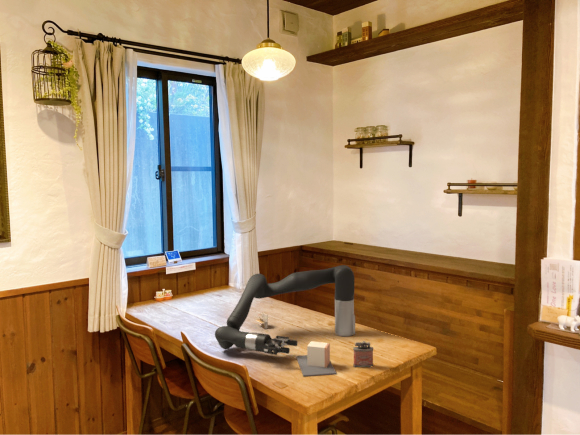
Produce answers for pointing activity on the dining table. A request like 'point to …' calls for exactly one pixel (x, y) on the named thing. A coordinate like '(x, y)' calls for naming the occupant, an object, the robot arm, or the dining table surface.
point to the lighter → (363, 354)
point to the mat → (313, 368)
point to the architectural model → (263, 320)
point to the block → (318, 354)
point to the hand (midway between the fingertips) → (293, 347)
